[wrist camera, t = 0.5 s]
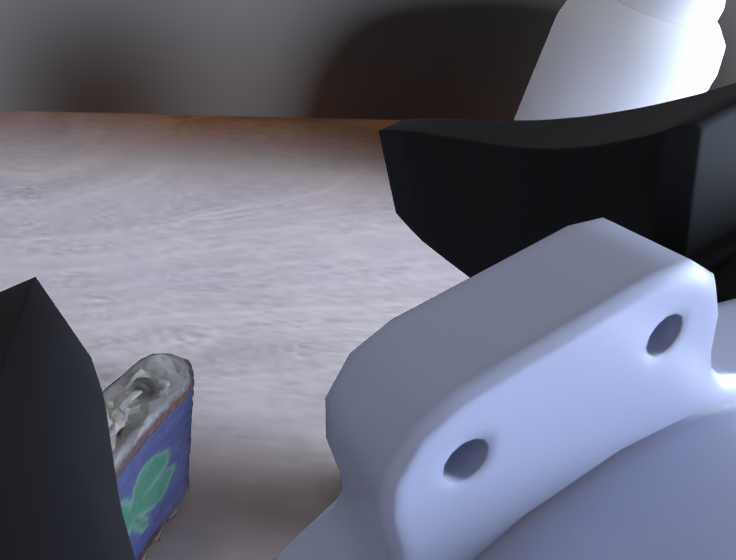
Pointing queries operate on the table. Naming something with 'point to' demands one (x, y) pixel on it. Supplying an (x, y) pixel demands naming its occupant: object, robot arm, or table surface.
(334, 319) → the table surface
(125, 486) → the flask
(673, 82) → the white jar
